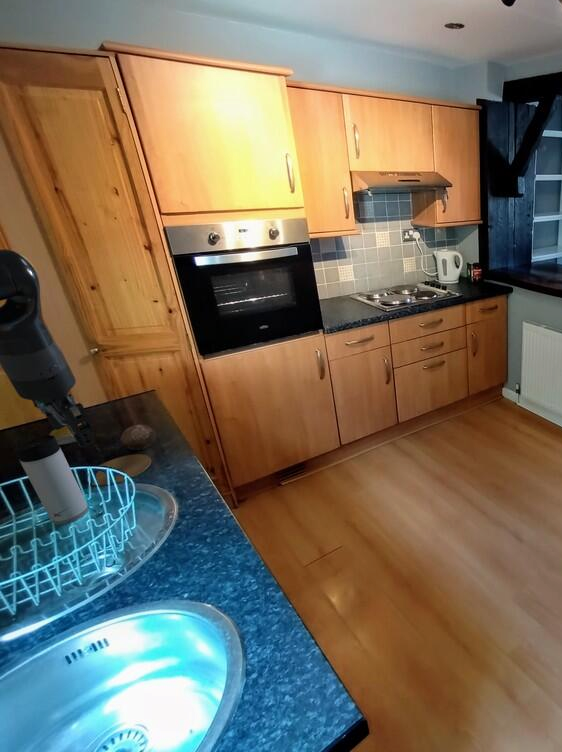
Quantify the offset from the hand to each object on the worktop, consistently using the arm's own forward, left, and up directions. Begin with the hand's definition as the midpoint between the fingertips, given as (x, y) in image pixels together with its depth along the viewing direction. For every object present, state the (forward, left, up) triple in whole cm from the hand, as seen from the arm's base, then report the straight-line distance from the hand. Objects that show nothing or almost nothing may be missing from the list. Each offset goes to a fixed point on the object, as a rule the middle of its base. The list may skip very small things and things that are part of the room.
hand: (74, 435), depth 86 cm
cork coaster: (-5, +28, -25) cm, 38 cm away
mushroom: (-2, +39, -25) cm, 47 cm away
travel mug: (-11, +12, -25) cm, 30 cm away
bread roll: (-21, +54, -25) cm, 63 cm away
